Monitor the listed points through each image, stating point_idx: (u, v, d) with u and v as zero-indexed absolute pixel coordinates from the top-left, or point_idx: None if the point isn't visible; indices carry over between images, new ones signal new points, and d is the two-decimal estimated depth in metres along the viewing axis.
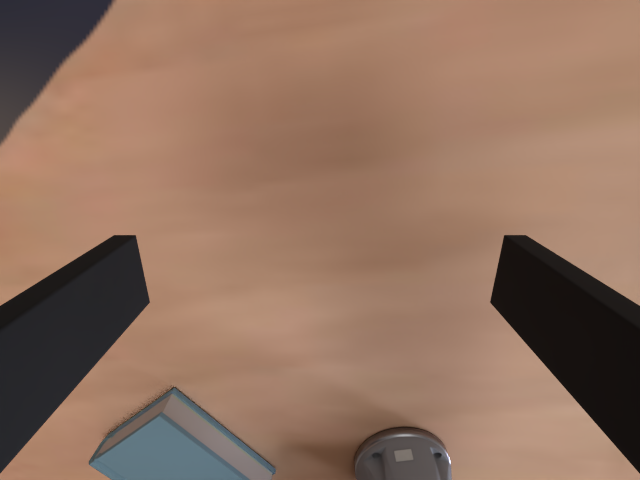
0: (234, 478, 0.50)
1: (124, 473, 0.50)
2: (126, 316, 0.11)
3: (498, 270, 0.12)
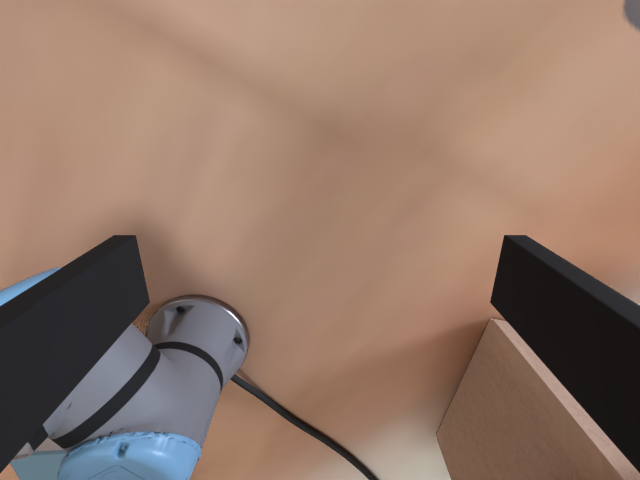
0: None
1: None
2: (126, 316, 0.11)
3: (498, 270, 0.12)
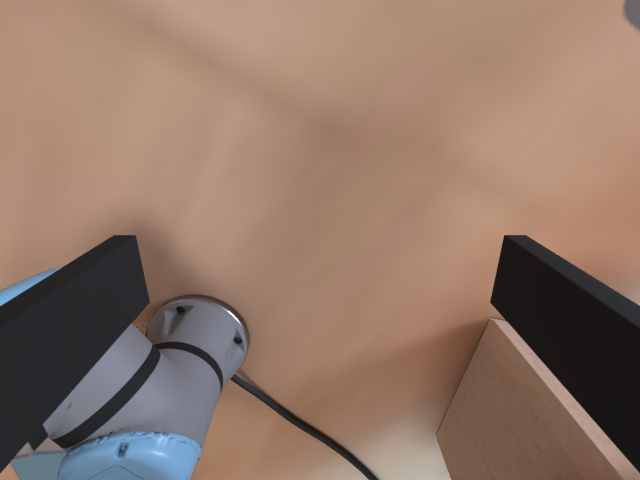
0: None
1: None
2: (126, 316, 0.11)
3: (498, 270, 0.12)
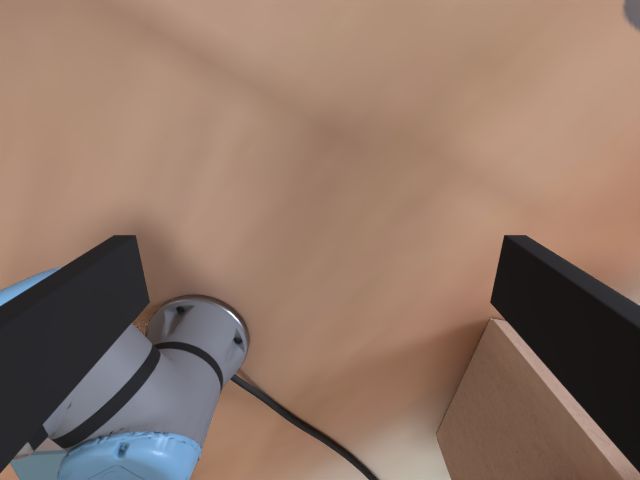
0: None
1: None
2: (126, 316, 0.11)
3: (498, 270, 0.12)
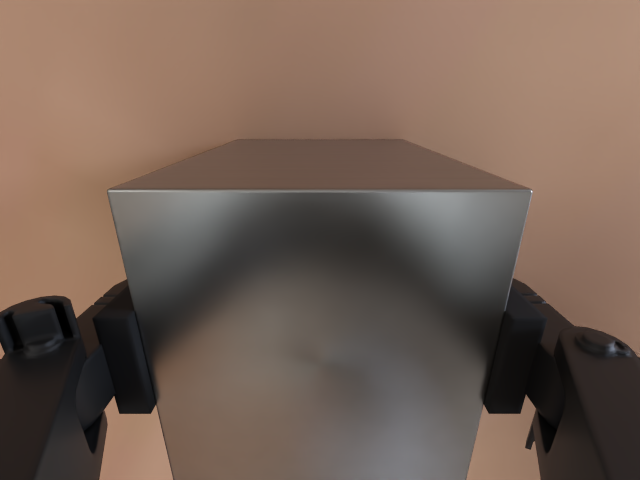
0: None
1: None
2: None
3: None
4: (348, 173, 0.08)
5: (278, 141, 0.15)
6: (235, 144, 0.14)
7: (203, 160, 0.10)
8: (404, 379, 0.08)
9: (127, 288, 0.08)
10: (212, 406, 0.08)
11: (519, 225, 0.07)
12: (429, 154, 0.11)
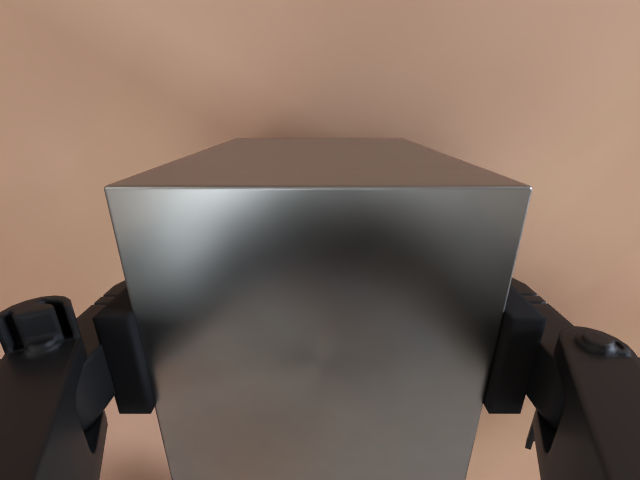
0: None
1: None
2: None
3: None
4: (347, 170, 0.08)
5: (277, 140, 0.15)
6: (234, 143, 0.14)
7: (201, 158, 0.10)
8: (403, 378, 0.08)
9: None
10: (210, 405, 0.08)
11: (518, 222, 0.07)
12: (428, 152, 0.11)
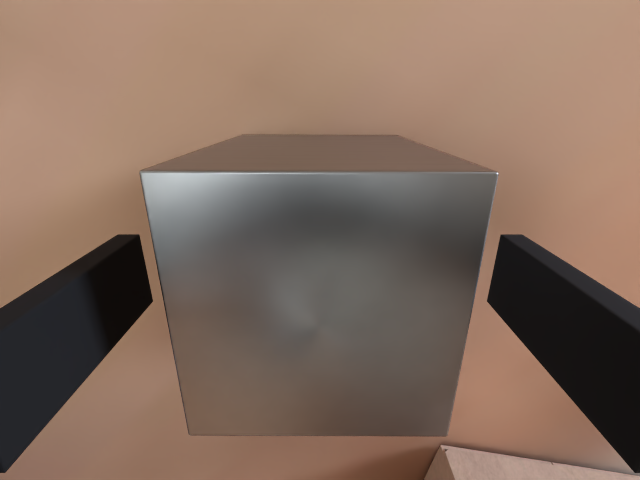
0: None
1: None
2: (130, 315, 0.11)
3: (494, 269, 0.12)
4: (344, 160, 0.09)
5: (281, 136, 0.17)
6: (241, 138, 0.15)
7: (215, 150, 0.11)
8: (391, 340, 0.09)
9: None
10: (224, 365, 0.10)
11: (488, 203, 0.08)
12: (418, 146, 0.12)
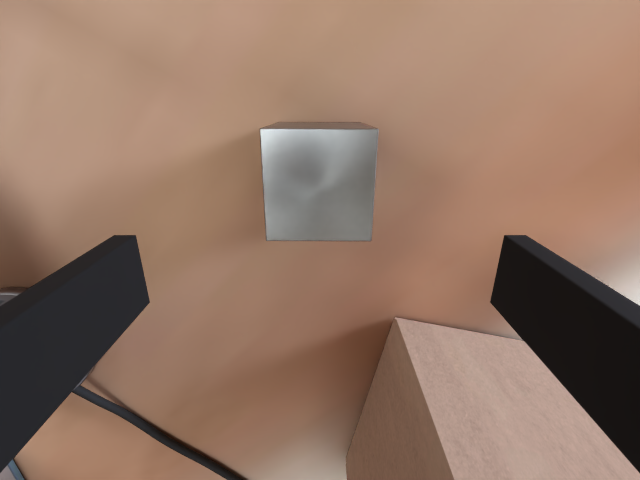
0: None
1: None
2: (126, 316, 0.11)
3: (498, 270, 0.12)
4: (328, 127, 0.25)
5: (299, 122, 0.32)
6: None
7: (276, 125, 0.27)
8: (346, 194, 0.25)
9: None
10: (283, 205, 0.25)
11: (375, 139, 0.24)
12: None
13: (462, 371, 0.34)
